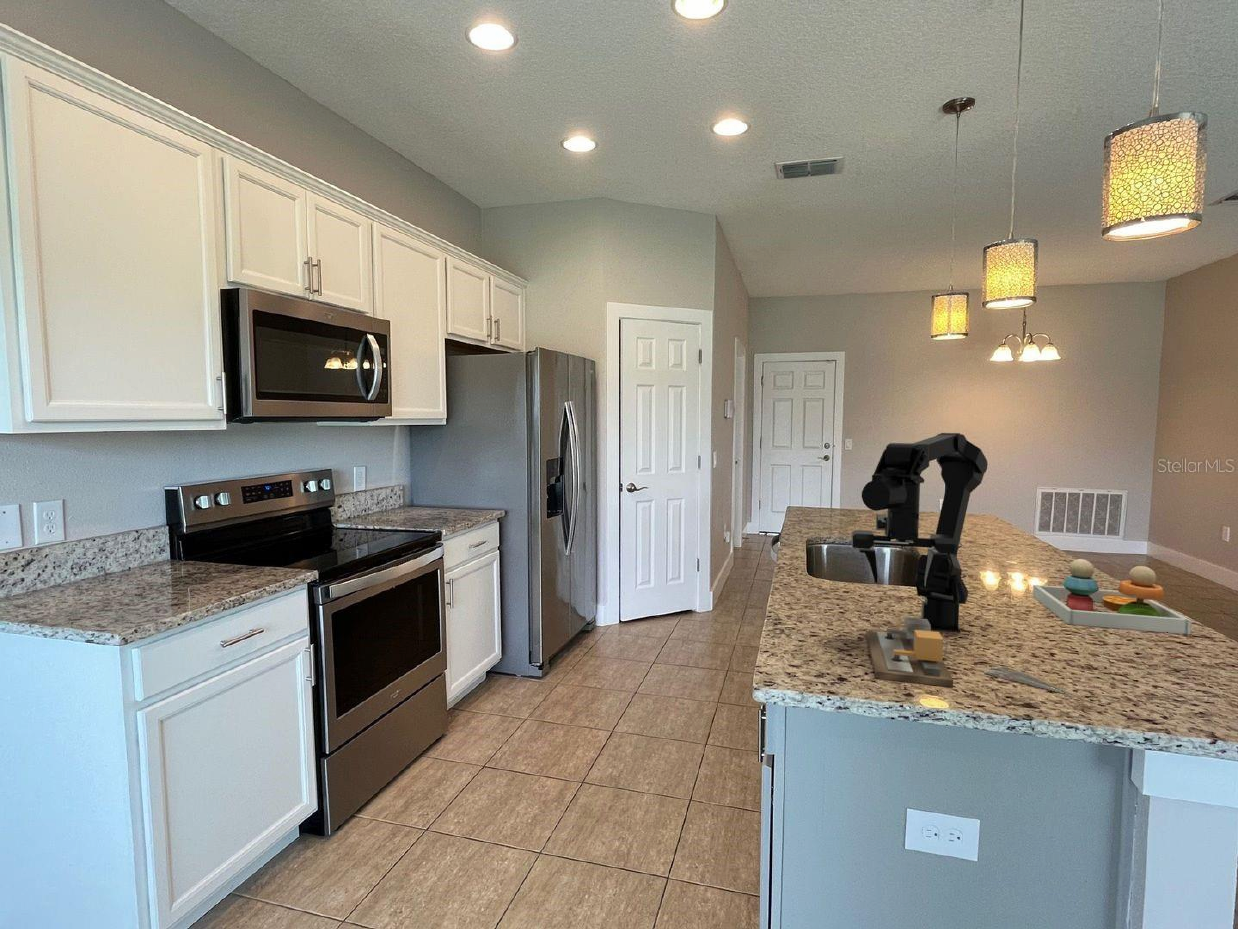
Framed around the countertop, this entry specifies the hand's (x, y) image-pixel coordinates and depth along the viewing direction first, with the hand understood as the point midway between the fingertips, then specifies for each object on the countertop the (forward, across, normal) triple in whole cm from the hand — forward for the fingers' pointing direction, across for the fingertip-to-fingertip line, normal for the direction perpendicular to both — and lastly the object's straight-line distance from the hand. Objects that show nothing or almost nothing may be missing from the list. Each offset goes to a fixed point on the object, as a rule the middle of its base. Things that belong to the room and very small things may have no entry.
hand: (900, 584), depth 124 cm
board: (+12, 0, +9) cm, 15 cm away
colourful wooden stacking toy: (+12, -50, -38) cm, 64 cm away
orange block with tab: (+10, -1, +14) cm, 17 cm away
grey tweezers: (+13, -21, +15) cm, 29 cm away
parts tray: (+12, -48, -36) cm, 61 cm away
